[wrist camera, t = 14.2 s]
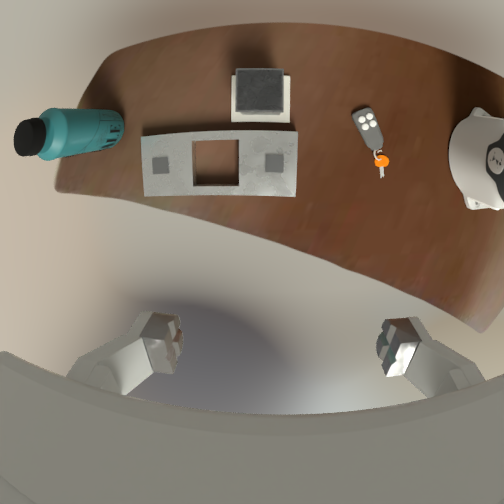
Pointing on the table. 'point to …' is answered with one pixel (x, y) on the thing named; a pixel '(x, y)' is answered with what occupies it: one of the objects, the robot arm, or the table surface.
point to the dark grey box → (259, 91)
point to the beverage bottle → (68, 132)
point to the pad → (282, 117)
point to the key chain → (371, 134)
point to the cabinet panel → (250, 163)
